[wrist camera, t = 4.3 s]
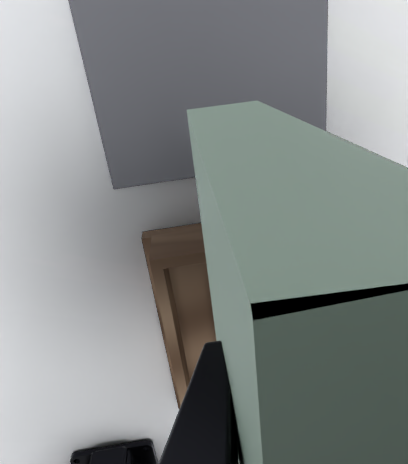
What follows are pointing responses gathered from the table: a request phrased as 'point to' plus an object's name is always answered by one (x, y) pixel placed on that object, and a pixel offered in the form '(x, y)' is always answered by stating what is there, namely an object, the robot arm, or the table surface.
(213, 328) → the rack
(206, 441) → the robot arm
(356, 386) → the green rectangular block
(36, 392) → the table surface
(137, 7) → the mat
